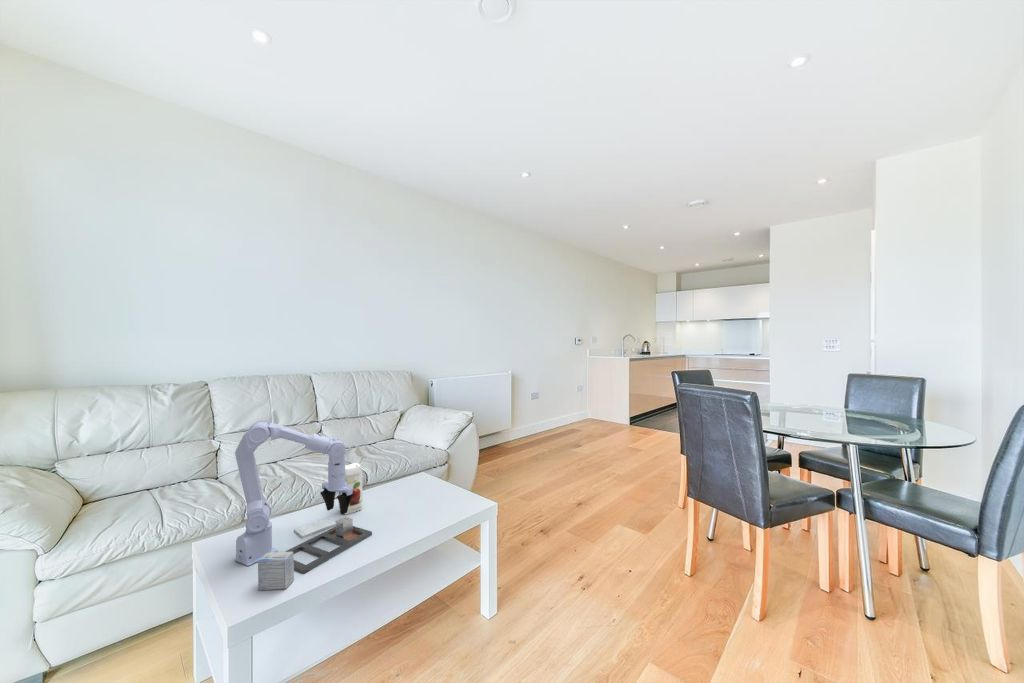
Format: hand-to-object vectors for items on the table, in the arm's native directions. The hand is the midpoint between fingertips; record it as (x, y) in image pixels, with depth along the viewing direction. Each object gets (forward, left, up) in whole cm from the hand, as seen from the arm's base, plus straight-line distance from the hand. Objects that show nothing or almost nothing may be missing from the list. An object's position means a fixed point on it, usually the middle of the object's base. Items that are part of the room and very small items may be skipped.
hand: (337, 511), depth 136 cm
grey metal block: (+1, -3, -9) cm, 9 cm away
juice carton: (+17, +14, -9) cm, 24 cm away
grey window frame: (-7, -3, -9) cm, 12 cm away
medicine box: (-27, -9, -9) cm, 30 cm away
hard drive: (0, +13, -10) cm, 16 cm away
